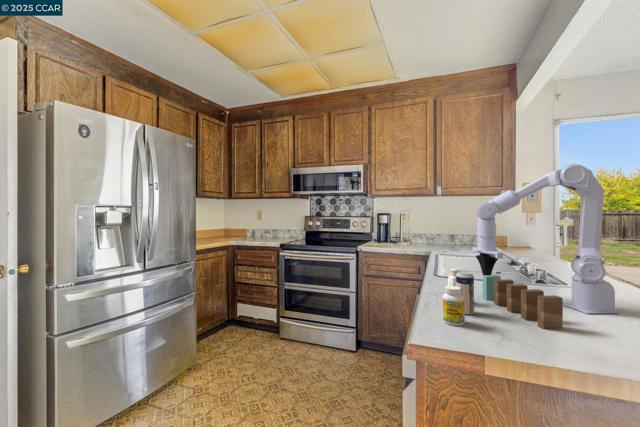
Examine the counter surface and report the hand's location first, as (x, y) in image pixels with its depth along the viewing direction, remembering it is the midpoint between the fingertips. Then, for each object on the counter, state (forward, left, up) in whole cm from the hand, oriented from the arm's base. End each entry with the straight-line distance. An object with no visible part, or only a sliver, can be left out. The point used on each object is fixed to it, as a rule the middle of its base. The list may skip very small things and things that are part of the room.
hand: (486, 275), depth 103 cm
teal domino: (0, +3, -7) cm, 8 cm away
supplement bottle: (+23, +22, -8) cm, 33 cm away
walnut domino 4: (0, +27, -7) cm, 28 cm away
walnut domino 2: (0, +15, -7) cm, 17 cm away
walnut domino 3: (0, +21, -7) cm, 22 cm away
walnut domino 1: (0, +9, -7) cm, 12 cm away
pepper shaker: (+14, +5, -8) cm, 17 cm away
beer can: (+16, +15, -8) cm, 23 cm away
